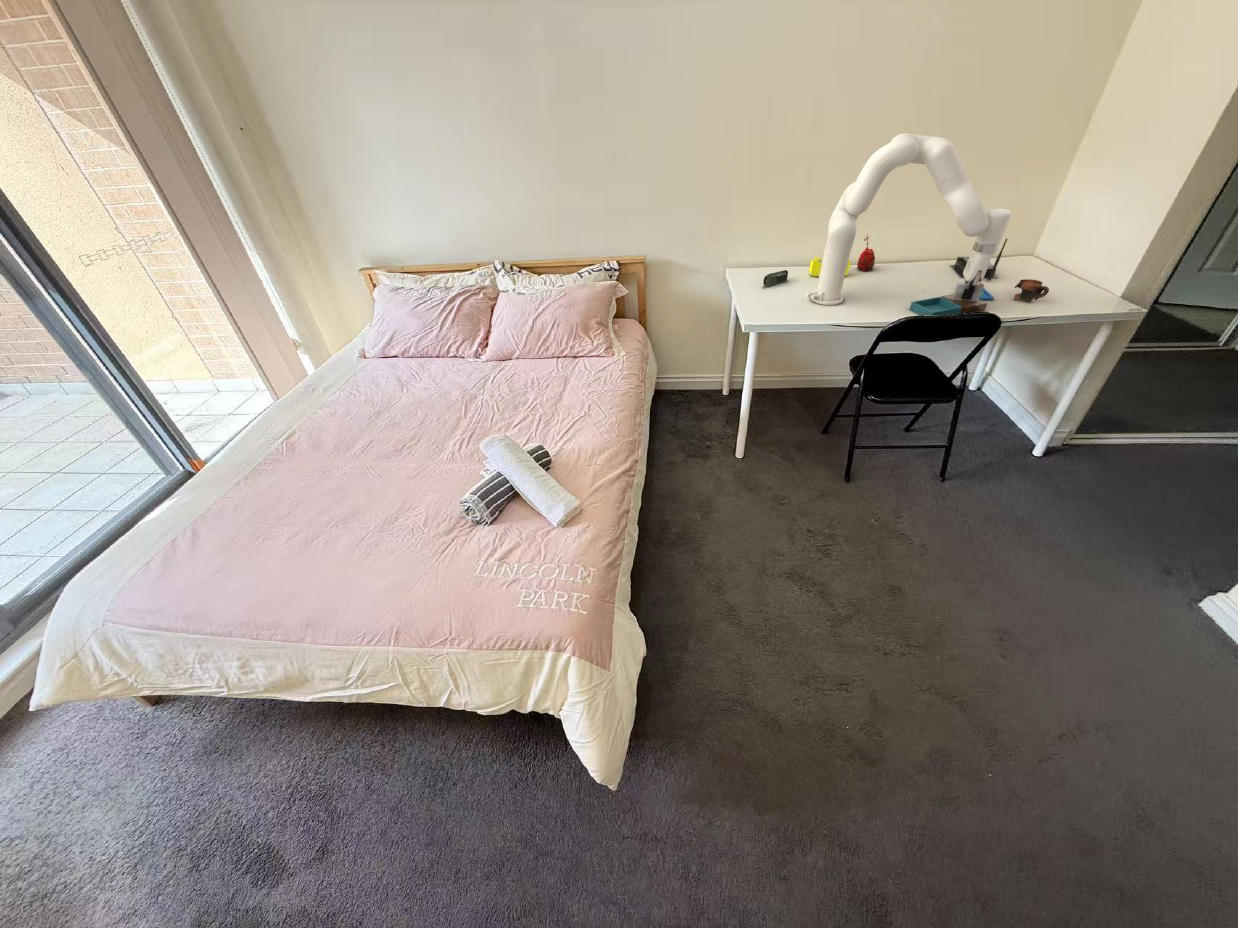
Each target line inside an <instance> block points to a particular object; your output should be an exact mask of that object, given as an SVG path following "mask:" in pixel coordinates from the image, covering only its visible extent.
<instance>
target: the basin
mask: <svg viewBox="0 0 1238 928" xmlns="http://www.w3.org/2000/svg"><path fill="white" fill-rule="evenodd" d="M909 305H910V306H909V308H908V310H910V311H912V312H914V313H916V314H917V315H919V316H921V315H948V314H949V315H952V314H960V313H961V310H962V308H963V307H961V306H959V305H957V304H955V303H953V302H950V301H949V300H947V299H944V298H942V297H941V296H937V297H931V298H925V299H920V300H914V301H911V302H910V304H909ZM960 315H961V314H960Z"/></svg>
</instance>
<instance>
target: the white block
mask: <svg viewBox="0 0 1238 928" xmlns="http://www.w3.org/2000/svg"><path fill="white" fill-rule="evenodd" d="M967 285H968V282H965V281H957V282H956V284H955V287H954V289H953V292H952V293H953V294H952V297H951V298H952V300H964V301H978V299H979V297H980V294H981V292H982V290H983V288H985V284H984V283H983V282H978V286H976V289H975V291H974V293H973V295H972V298H971V299H970V300H968V299H962V298H961V297H962V295H963V292H964V290H965V288H966V287H967Z"/></svg>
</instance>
